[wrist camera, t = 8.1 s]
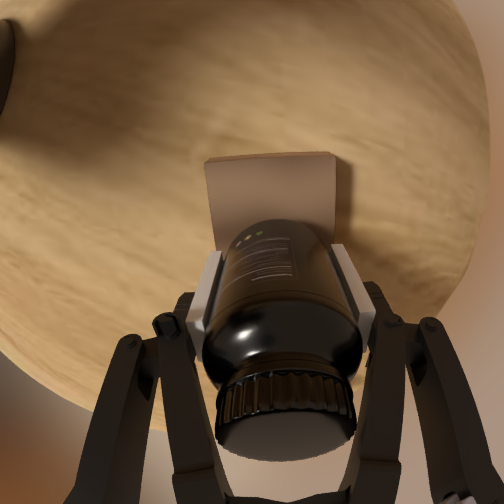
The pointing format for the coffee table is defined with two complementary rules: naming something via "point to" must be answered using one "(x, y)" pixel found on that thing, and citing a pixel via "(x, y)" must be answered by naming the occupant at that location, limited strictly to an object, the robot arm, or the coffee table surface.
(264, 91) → the coffee table surface
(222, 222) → the rail flange
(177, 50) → the coffee table surface
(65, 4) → the coffee table surface
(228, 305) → the supplement bottle
